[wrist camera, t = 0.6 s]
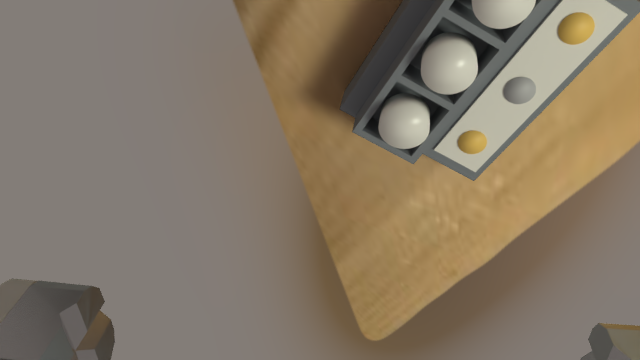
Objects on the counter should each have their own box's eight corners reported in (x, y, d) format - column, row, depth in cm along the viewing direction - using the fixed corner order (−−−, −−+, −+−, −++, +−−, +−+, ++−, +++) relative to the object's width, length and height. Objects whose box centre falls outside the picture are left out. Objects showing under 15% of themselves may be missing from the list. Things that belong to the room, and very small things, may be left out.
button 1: (397, 84, 43) (395, 97, 41) (440, 108, 44) (439, 122, 42) (371, 120, 45) (369, 134, 44) (412, 142, 46) (411, 156, 45)
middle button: (441, 22, 39) (442, 34, 38) (487, 49, 40) (489, 62, 38) (411, 65, 42) (410, 77, 40) (455, 89, 42) (455, 103, 41)
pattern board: (475, -113, 37) (479, -93, 33) (633, -10, 40) (656, 20, 36) (344, 91, 49) (335, 125, 45) (472, 161, 52) (475, 199, 48)
